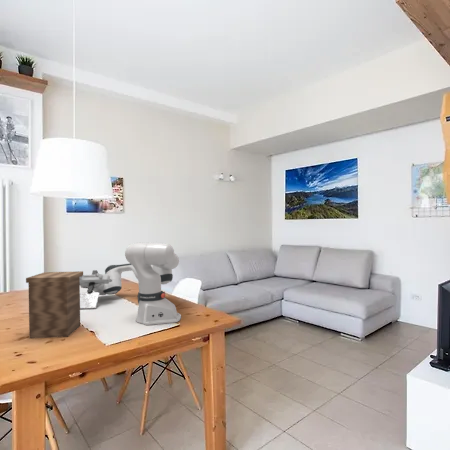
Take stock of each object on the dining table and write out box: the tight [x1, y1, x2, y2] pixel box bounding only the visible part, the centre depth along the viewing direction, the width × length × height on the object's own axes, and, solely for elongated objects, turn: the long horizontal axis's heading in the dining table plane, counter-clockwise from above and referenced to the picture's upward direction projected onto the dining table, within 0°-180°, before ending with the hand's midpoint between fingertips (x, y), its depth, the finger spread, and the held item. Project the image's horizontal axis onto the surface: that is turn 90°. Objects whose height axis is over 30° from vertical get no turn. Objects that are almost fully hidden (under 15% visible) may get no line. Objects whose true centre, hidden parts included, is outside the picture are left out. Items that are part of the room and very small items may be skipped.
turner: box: [80, 269, 100, 310], centre depth 188 cm, size 11×25×2 cm
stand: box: [25, 270, 84, 339], centre depth 143 cm, size 18×16×26 cm
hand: (88, 274), depth 184 cm, fingers open, 8 cm apart
